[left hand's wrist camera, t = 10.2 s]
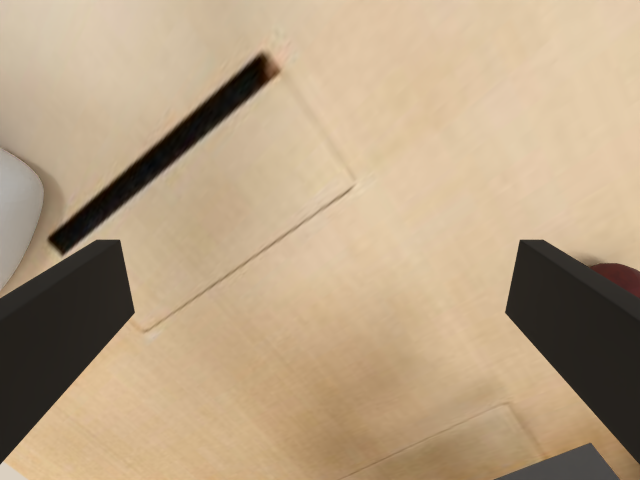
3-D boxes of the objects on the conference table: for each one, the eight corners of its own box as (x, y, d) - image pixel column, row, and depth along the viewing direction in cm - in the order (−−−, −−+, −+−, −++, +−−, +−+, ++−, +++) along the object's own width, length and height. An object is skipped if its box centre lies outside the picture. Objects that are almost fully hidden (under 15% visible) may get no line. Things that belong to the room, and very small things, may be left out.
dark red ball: (572, 321, 45) (616, 359, 38) (549, 273, 43) (591, 304, 36) (632, 291, 43) (689, 325, 37) (611, 240, 41) (667, 267, 34)
